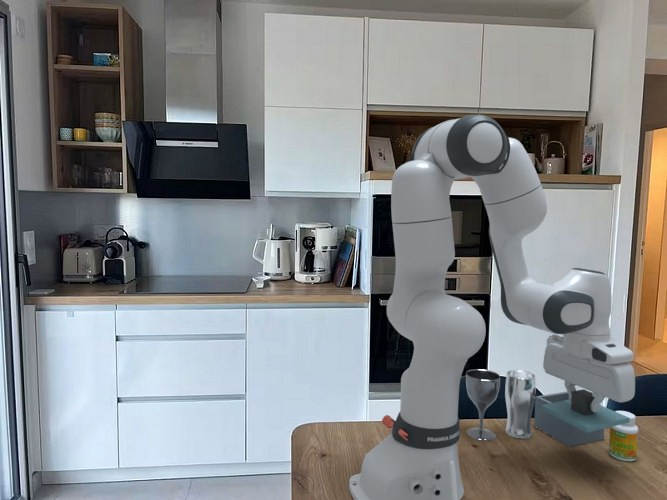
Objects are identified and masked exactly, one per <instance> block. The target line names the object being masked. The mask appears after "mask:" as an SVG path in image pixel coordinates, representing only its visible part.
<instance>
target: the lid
mask: <svg viewBox="0 0 667 500" xmlns="http://www.w3.org/2000/svg"><path fill="white" fill-rule="evenodd" d="M592 394H593V392H592V391H589V390H587V389H585V388H582V389H578V390H577V389H576V391H572V395H571V402H570V401H569V400H564V401H559V402H554V403H549V404H544V405H541V410H543V411H545V412H547V413H549V414H551V415H553V416H555V417H557V418H559V419H561V420H563V421H565V422H567V423H569V424H571V425H573V426H575V427H577V428H579V429H581V430H583V431H585V432H591V431H596V430H600V429H604V430H605V429H608V428H610V427H612V426H617V425H621V424H625V423H629V421H630V418H629V417H626V416H624V415H622V414H619V413H617V412H616V410H612V409H610V408H607V407H606V406H604V407H603V405H601V404H600V411H599V412H595V413H594V412H592V411H590V410H588V402H592V401H593V400H594V398H595V397H593V396H592ZM605 407H606V408H605Z"/></svg>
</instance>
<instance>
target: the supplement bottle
mask: <svg viewBox="0 0 667 500" xmlns="http://www.w3.org/2000/svg"><path fill="white" fill-rule="evenodd" d="M615 412H617V413H619V414H622V415H624V416H626V417H629V418H630V421H629V423H625V424H621V425H617V426H612V427H609V442H608V453H609V455H610V456H611V457H613V458H614V459H616V460H619V461H624V462H633V461H636V460H637V458H638V457H637V455H638V443H639V442H638V441H639V440H638V439H639V426H637V425H636V415H635V414H633V413H631V412H629V411H625V410H615Z"/></svg>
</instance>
